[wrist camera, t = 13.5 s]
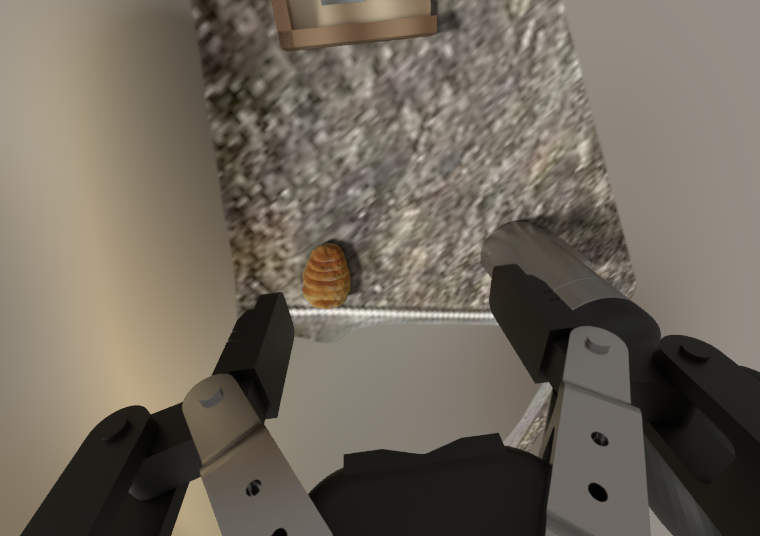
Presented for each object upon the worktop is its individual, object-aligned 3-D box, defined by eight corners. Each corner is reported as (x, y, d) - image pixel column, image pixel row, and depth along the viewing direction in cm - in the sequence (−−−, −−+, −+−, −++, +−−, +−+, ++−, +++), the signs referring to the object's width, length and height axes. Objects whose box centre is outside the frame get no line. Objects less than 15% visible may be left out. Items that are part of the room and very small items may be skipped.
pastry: (302, 238, 41) (299, 252, 38) (353, 241, 42) (354, 255, 39) (304, 295, 46) (301, 311, 42) (349, 296, 47) (349, 312, 43)
